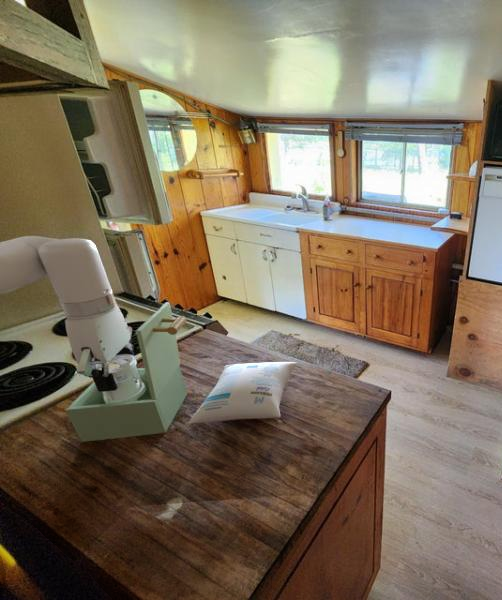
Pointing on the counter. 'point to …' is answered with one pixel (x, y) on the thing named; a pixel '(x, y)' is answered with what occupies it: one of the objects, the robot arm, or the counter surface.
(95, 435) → the box
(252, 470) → the counter surface
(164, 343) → the lid
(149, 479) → the counter surface
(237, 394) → the pouch
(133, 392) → the white cylindrical piece
